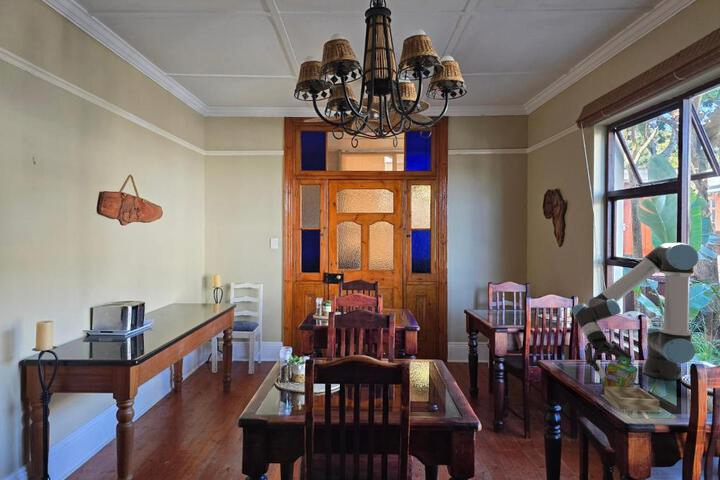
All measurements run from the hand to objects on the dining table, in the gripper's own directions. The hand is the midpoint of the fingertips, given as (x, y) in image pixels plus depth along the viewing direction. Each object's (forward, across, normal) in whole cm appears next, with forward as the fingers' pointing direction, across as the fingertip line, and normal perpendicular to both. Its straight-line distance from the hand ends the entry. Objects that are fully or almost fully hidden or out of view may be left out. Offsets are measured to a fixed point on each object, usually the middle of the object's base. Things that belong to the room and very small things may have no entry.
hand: (619, 377), depth 182 cm
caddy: (+13, +5, +4) cm, 14 cm away
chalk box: (+4, 0, -6) cm, 7 cm away
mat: (+13, +5, +4) cm, 14 cm away
